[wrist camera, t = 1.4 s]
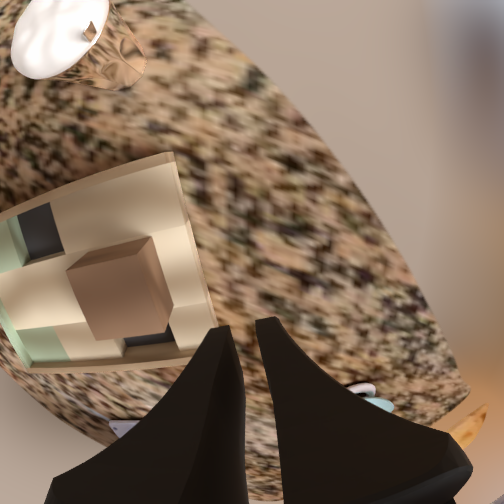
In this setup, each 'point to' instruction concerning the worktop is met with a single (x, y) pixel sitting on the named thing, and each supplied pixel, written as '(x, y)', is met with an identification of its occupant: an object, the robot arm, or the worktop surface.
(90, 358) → the tray
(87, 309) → the walnut block
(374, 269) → the worktop surface
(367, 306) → the worktop surface
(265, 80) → the worktop surface
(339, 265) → the worktop surface
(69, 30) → the milkshake
